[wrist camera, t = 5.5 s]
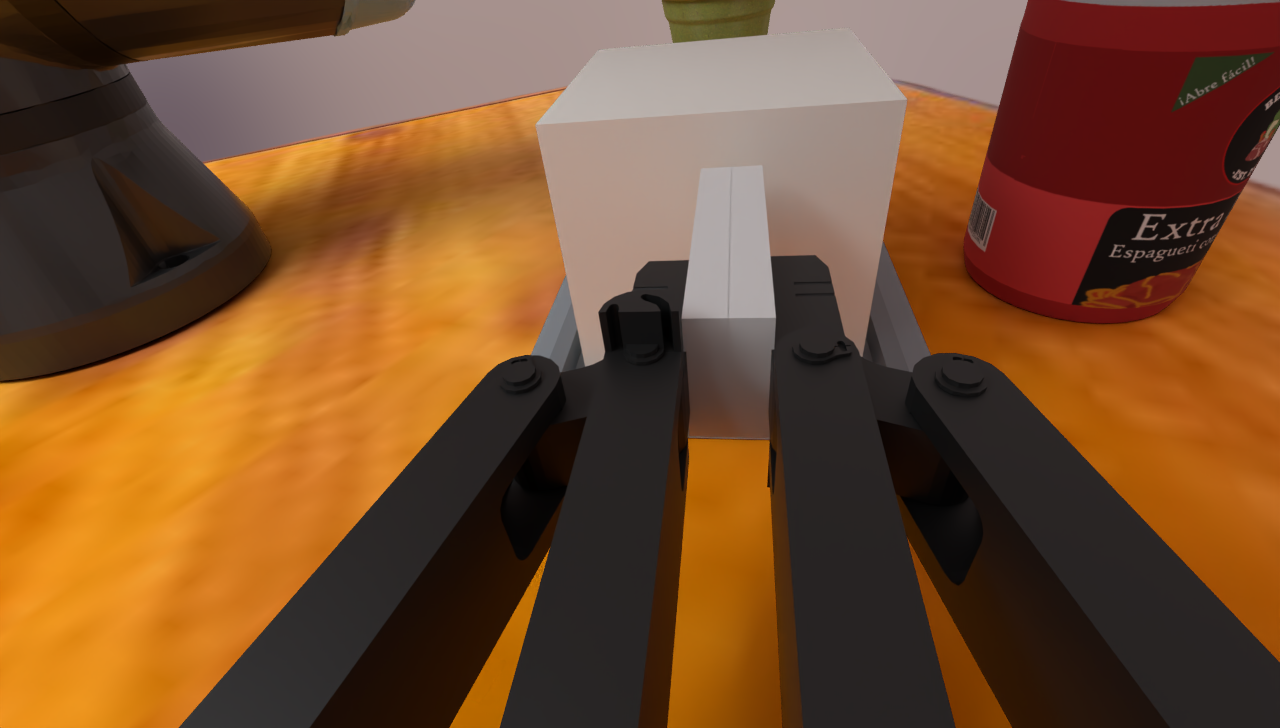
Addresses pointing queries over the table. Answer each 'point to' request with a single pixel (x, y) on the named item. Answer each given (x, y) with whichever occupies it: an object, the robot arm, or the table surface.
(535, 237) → the table surface
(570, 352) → the board
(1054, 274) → the canned food
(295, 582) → the table surface
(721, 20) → the plant pot
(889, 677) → the robot arm
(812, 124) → the block
